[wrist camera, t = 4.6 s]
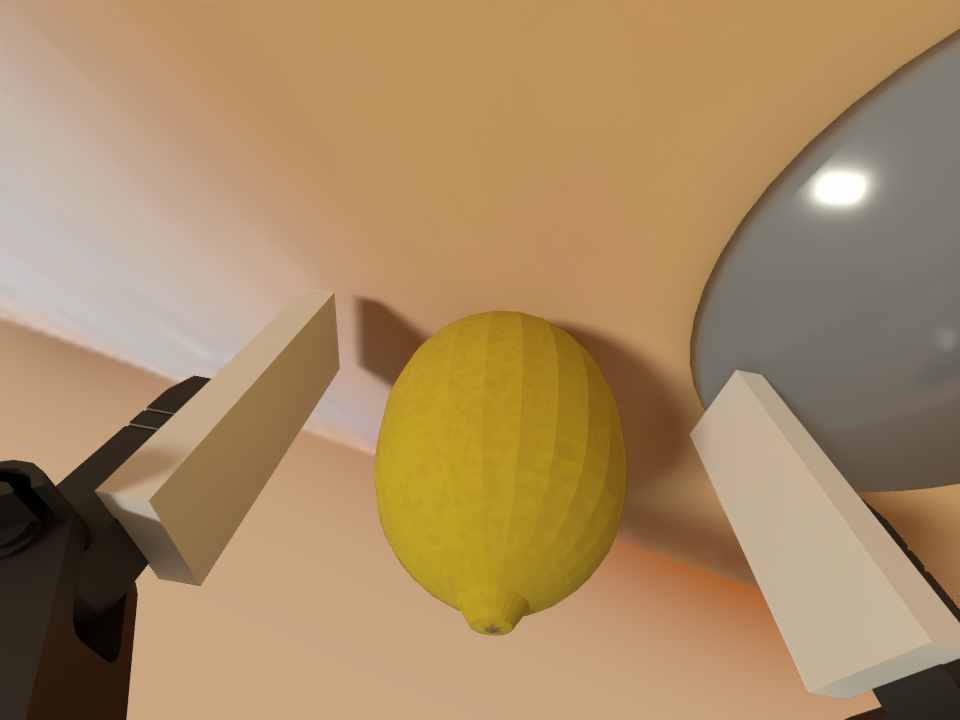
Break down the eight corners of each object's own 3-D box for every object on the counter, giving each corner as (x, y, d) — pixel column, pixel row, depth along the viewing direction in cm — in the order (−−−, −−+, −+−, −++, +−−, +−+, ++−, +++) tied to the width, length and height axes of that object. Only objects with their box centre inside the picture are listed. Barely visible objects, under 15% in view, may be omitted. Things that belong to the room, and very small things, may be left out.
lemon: (588, 404, 14) (653, 696, 7) (435, 410, 14) (370, 679, 8) (598, 253, 10) (729, 537, 4) (400, 270, 11) (243, 533, 5)
